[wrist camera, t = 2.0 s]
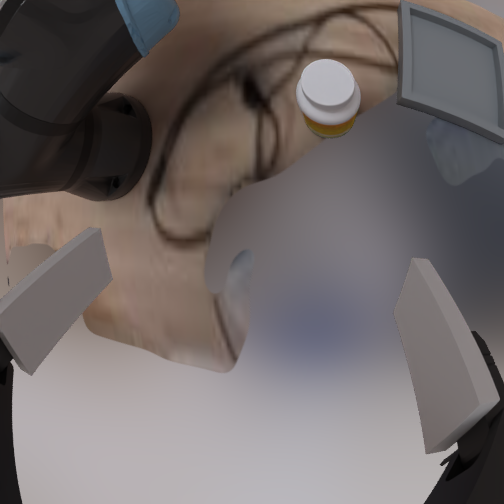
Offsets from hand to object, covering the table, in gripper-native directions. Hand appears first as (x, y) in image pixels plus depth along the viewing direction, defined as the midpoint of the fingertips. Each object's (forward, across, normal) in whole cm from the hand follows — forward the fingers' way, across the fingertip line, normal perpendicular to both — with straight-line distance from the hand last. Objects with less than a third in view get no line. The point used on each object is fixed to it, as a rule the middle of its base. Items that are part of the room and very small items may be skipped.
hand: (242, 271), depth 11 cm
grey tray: (+22, +20, +15) cm, 33 cm away
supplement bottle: (+22, +5, +6) cm, 23 cm away
